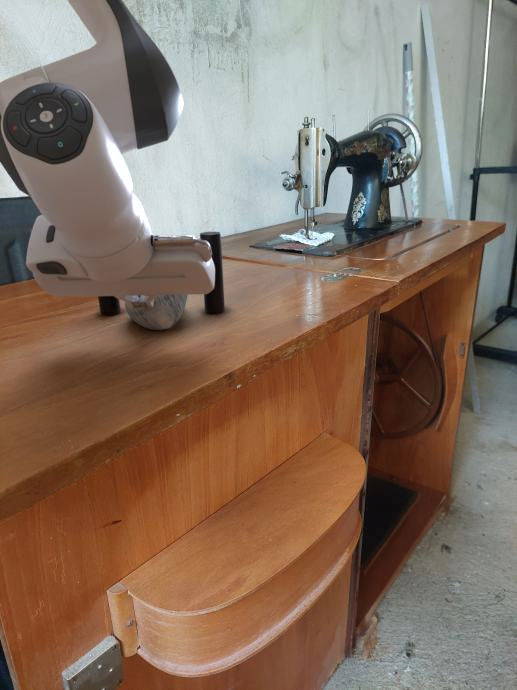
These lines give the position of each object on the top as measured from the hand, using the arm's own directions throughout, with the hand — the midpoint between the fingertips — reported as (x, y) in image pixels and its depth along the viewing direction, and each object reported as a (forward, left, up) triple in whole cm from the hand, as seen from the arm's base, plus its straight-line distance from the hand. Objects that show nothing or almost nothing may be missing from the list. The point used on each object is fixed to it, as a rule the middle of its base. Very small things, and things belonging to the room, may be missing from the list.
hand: (143, 302), depth 67 cm
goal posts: (0, +11, -5) cm, 12 cm away
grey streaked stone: (0, +7, -5) cm, 9 cm away
